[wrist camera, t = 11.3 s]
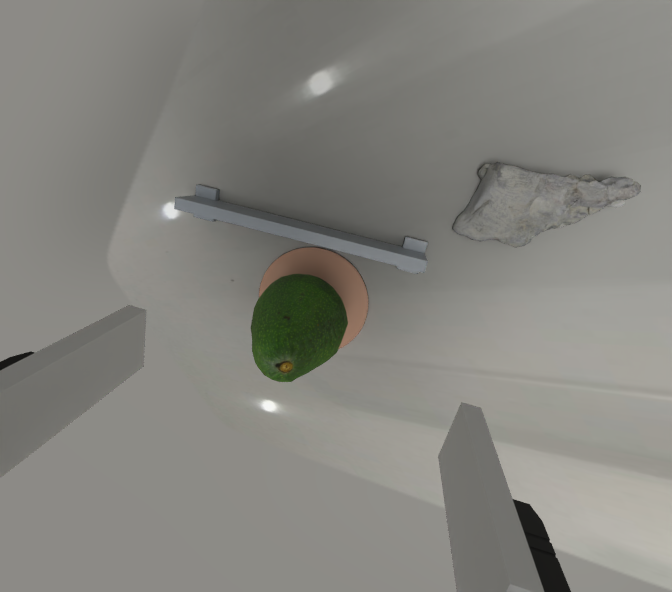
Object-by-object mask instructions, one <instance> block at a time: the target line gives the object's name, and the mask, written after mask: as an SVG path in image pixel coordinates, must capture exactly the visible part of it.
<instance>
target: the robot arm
mask: <svg viewBox="0 0 672 592" xmlns="http://www.w3.org/2000/svg"><path fill="white" fill-rule="evenodd" d="M145 326H146V310H144V309H141V308H138V307H134V306H131V305H128V306H126V307H124V308H122V309H120V310H118V311H116V312H114V313H113V314H110V315H108V316H107V317H105V318H103V319H101V320H99V321H97V322H95V323H93V324H91V325H89V326H87V327H85V328H83V329H81V330H79V331H77V332H75V333H73V334H71V335H69V336H67V337H66V338H63V339H61V340H59V341H58V342H55V343H53V344H52V345H50V346H48V347H46V348H44V349H42V350H40V351H38V352H36V353H34V352H28V353H24V354H20V355H16V356H13V357H10V358H8V359H6V360H4V361H1V362H0V478H1V477H2V476H3V475H5V474H6V473H7V472H8V471H10V470H11V469H12V468H14V467H15V466H16V465H18V464H19V463H20V462H21V461H23V460H24V459H25V458H27V457H28V456H29V455H30V454H31V453H33V452H34V451H36V450H37V449H38V448H39V447H41V446H42V445H43V444H45V443H46V442H47V441H48V440H50V439H51V438H52V437H54V436H55V435H56V434H57V433H59V432H60V431H61V430H62V429H64V428H65V427H66V426H68V425H69V424H70V423H72V422H73V421H74V420H75V419H77V418H78V417H79V416H80V415H82V414H83V413H84V412H86V411H87V410H88V409H90V408H91V407H92V406H93V405H94V404H96V403H97V402H99V401H100V400H101V399H102V398H104V397H105V396H106V395H107V394H109V393H110V392H111V391H113V390H114V389H115V388H116V387H118V386H119V385H120V384H122V383H123V382H124V381H125V380H127V379H128V378H129V377H130V376H132V375H133V374H134V373H136V372H137V371H138V370H140V369H141V368H142V367H143V366H144V347H145ZM438 458H439V465H440V473H441V480H442V487H443V495H444V502H445V509H446V515H447V516H446V517H447V523H448V531H449V538H450V545H451V553H452V560H453V567H454V575H455V581H456V589H457V592H571V591H570V588H569V586H568V584H567V581H566V578H565V576H564V574H563V571H562V569H561V566H560V564H559V562H558V559H557V558H556V557H555V555H556V554H555V552H554V549H553V546H552V544H551V543H550V542H549V540H550V539H549V537H548V534H547V532H546V529H545V527H544V524H543V522H542V520H541V519H540V518H539V516H538V515H537V514H536V512H535V511H534V510H533V508H532V507H531V506H530V504H527V503H524V502H520V501H517V500H514V499H512V496H511V493H510V490H509V487H508V485H507V482H506V479H505V476H504V473H503V470H502V467H501V464H500V461H499V458H498V455H497V453H496V450H495V447H494V444H493V441H492V438H491V435H490V432H489V429H488V426H487V423H486V421H485V418H484V415H483V412H482V409H481V408H479V407H476V406H472V405H469V404H466V403H462V402H461V405H460V407H459V409H458V412H457V414H456V416H455V419H454V421H453V423H452V426H451V428H450V430H449V432H448V435H447V437H446V439H445V442H444V444H443V446H442V449H441V451H440V453H439V456H438Z"/></svg>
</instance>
